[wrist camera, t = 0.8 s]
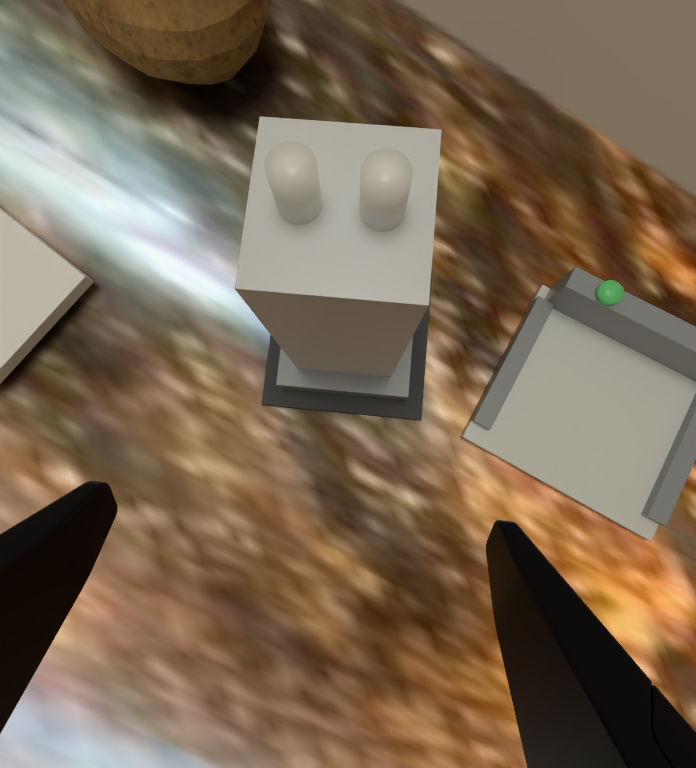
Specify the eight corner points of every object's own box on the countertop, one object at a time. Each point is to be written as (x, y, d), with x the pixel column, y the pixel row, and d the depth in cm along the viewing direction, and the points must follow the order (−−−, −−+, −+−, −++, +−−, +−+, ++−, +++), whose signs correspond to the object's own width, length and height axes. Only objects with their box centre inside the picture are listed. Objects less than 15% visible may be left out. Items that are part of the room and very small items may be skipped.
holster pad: (420, 419, 22) (421, 419, 22) (263, 404, 23) (261, 404, 22) (431, 269, 24) (431, 267, 23) (281, 257, 24) (281, 254, 24)
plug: (404, 400, 22) (485, 330, 8) (281, 388, 22) (162, 301, 9) (413, 282, 23) (499, 45, 9) (295, 272, 23) (209, 27, 10)
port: (644, 539, 21) (698, 557, 18) (460, 436, 22) (479, 435, 19) (717, 375, 22) (780, 363, 19) (539, 285, 23) (570, 258, 20)
